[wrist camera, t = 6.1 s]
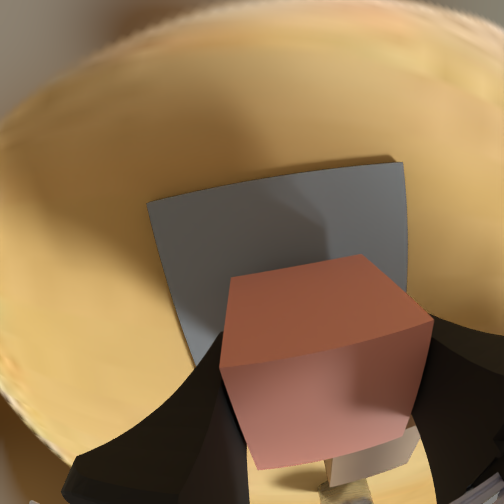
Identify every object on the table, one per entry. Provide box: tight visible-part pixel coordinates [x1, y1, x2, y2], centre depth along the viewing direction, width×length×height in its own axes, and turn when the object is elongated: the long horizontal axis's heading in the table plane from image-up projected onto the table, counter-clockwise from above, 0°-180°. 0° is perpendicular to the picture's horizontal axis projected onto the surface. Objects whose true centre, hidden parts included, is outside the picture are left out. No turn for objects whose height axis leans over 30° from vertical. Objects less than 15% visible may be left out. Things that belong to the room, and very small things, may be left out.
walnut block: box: [324, 414, 420, 487], centre depth 13 cm, size 5×5×5 cm
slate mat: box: [146, 162, 408, 366], centre depth 12 cm, size 11×11×1 cm
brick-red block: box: [219, 254, 434, 470], centre depth 9 cm, size 5×5×5 cm
